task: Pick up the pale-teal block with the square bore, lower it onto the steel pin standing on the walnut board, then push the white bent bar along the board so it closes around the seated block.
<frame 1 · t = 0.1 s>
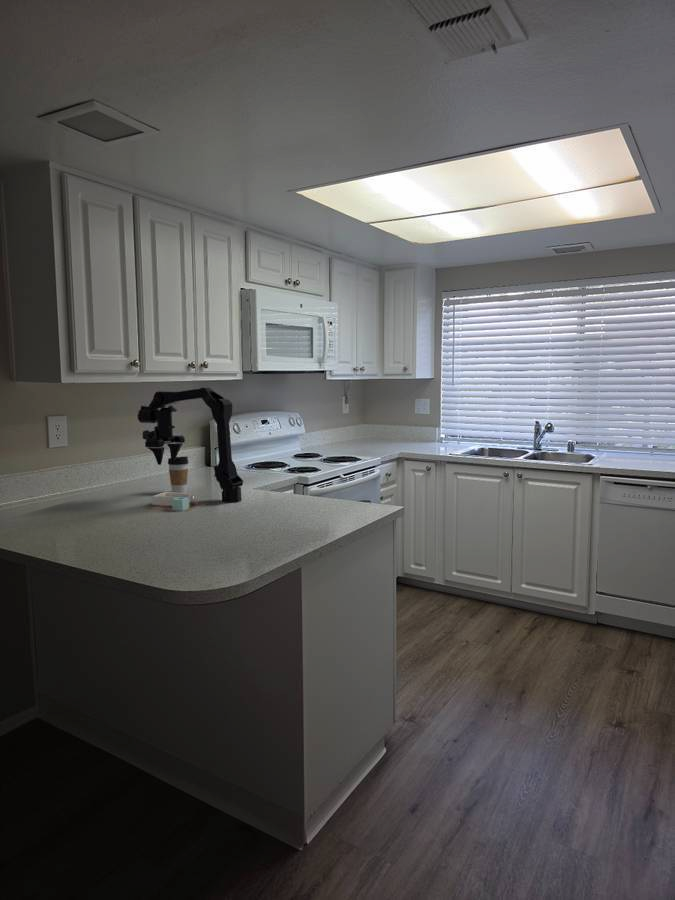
hand: (166, 463, 243), 15 cm above the countertop, fingers open, 9 cm apart
jaw block: (180, 509, 222), point 1 cm above the countertop, touching board
pin: (192, 508, 229), resting on board
coffee cup: (179, 493, 259), on the countertop
board: (176, 508, 228), on the countertop
white bent bar: (171, 499, 231), point 3 cm above the countertop, slide at 0.0 cm
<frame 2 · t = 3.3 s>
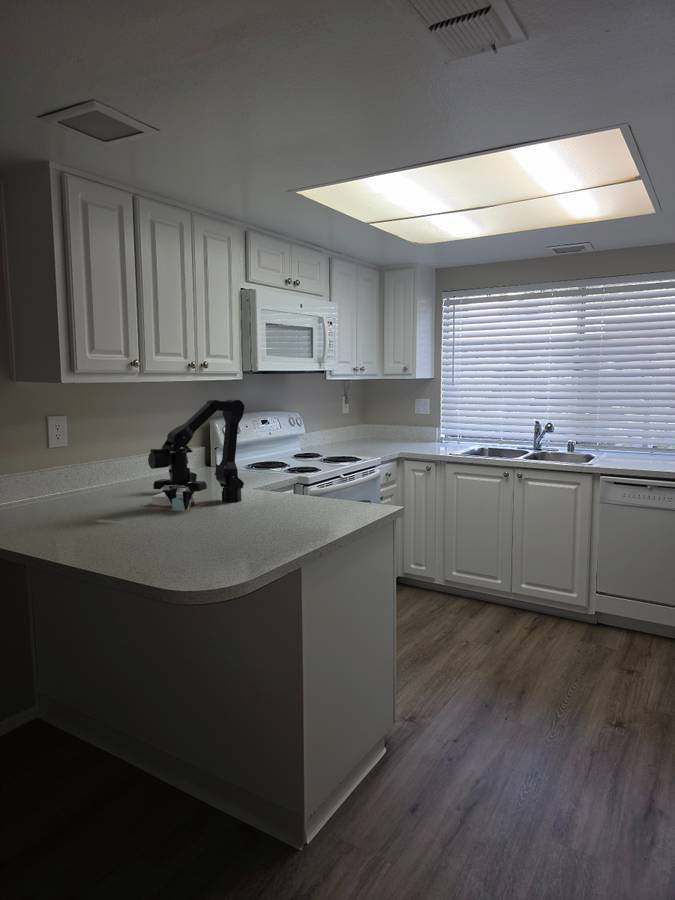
hand: (180, 508, 222), 1 cm above the countertop, fingers closed on jaw block, 4 cm apart
jaw block: (180, 509, 222), point 1 cm above the countertop, touching board, gripper
everything else where it was.
when the fingers open (2 cm above the countertop, at t = 6.4 s): jaw block stays where it is, resting on board.
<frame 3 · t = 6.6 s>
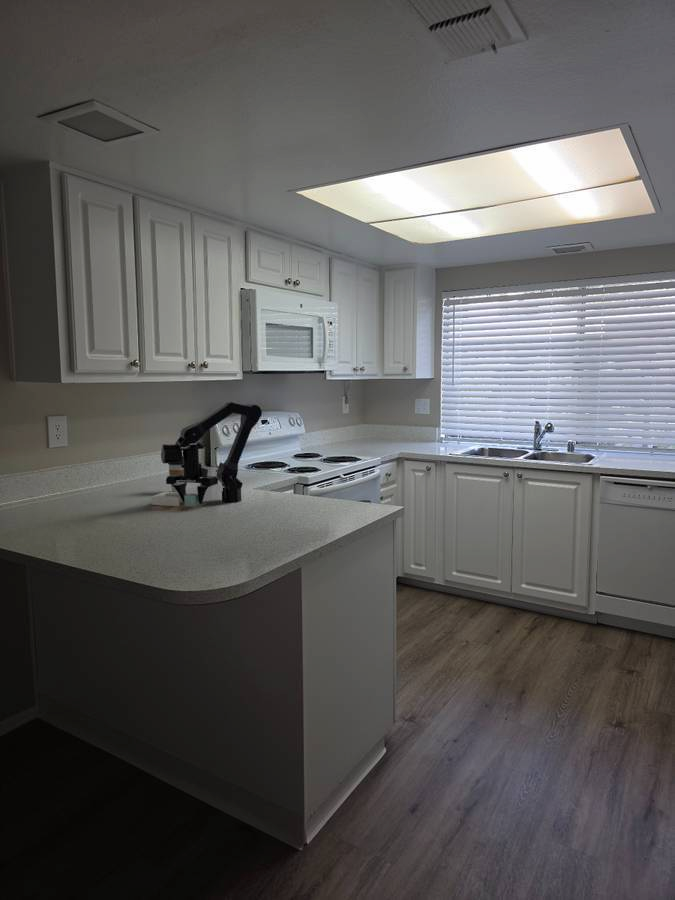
hand: (192, 503, 229), 2 cm above the countertop, fingers open, 6 cm apart
jaw block: (192, 505, 229), point 1 cm above the countertop, touching board
everything else where it was.
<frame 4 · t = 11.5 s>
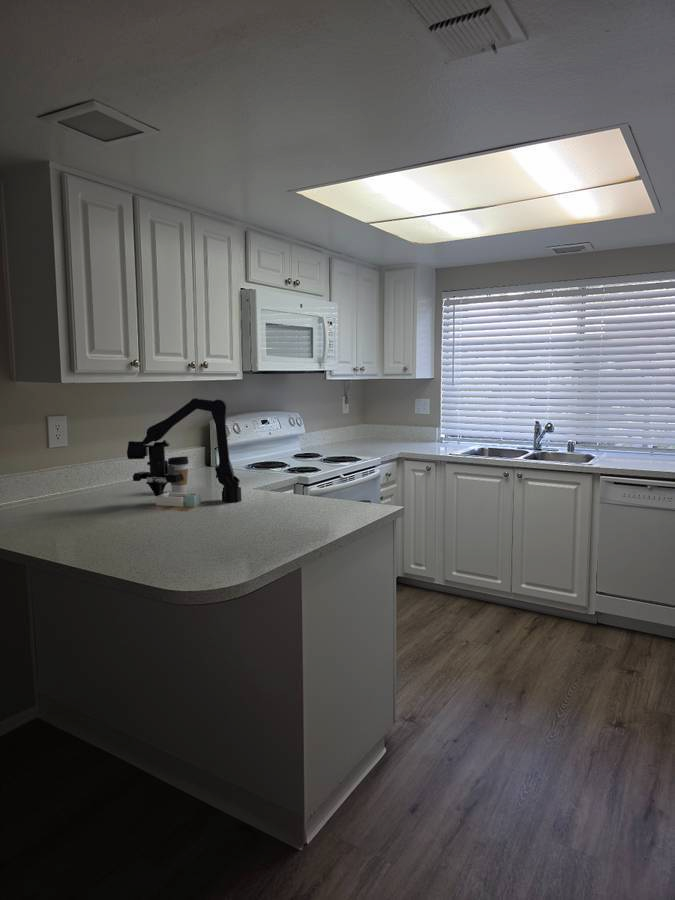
hand: (159, 499, 233), 2 cm above the countertop, fingers closed
white bent bar: (174, 499, 231), point 3 cm above the countertop, slide at 1.5 cm, touching gripper
everything else where it was.
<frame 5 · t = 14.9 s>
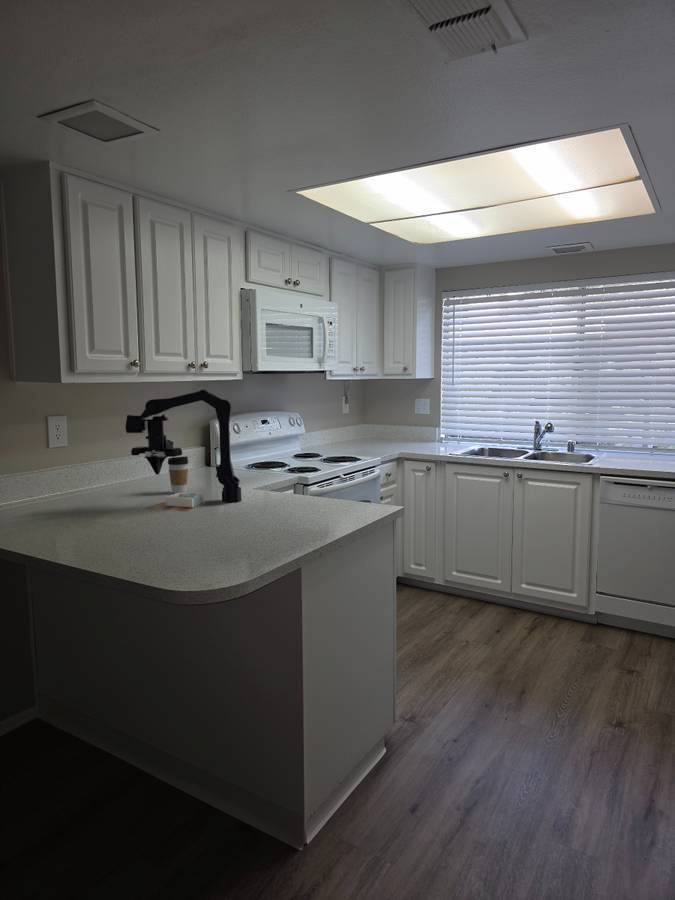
hand: (157, 474, 232), 12 cm above the countertop, fingers closed
white bent bar: (185, 499, 230), point 3 cm above the countertop, slide at 6.0 cm
everything else where it was.
at the end: jaw block 0.0 cm off-centre on the pin, point 1.0 cm above the pin's base; white bent bar slide at 6.0 cm; jaw block tilted 0° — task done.
